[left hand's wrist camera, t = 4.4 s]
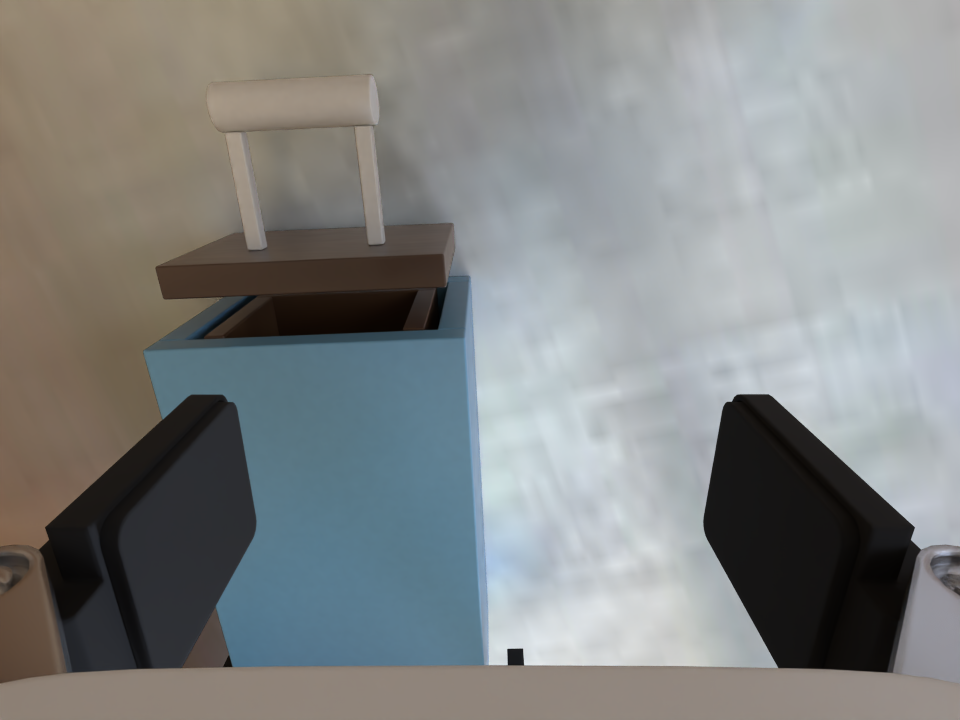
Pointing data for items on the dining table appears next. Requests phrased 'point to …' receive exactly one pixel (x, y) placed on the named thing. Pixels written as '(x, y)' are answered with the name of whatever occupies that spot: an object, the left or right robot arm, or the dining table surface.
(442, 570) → the blue drawer cabinet
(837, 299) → the dining table surface
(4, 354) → the dining table surface
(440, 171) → the dining table surface
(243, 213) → the drawer
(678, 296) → the dining table surface
